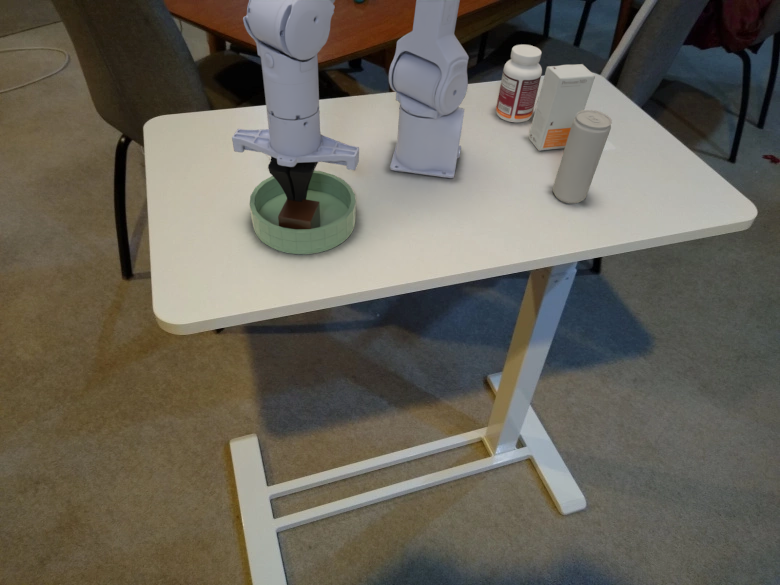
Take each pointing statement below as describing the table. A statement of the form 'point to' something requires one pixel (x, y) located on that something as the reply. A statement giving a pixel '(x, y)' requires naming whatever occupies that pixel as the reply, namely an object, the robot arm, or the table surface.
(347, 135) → the table surface
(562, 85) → the cosmetic box
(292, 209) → the block
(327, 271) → the table surface
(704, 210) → the table surface
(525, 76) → the pill bottle
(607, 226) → the table surface
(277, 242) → the bowl
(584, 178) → the beverage can
